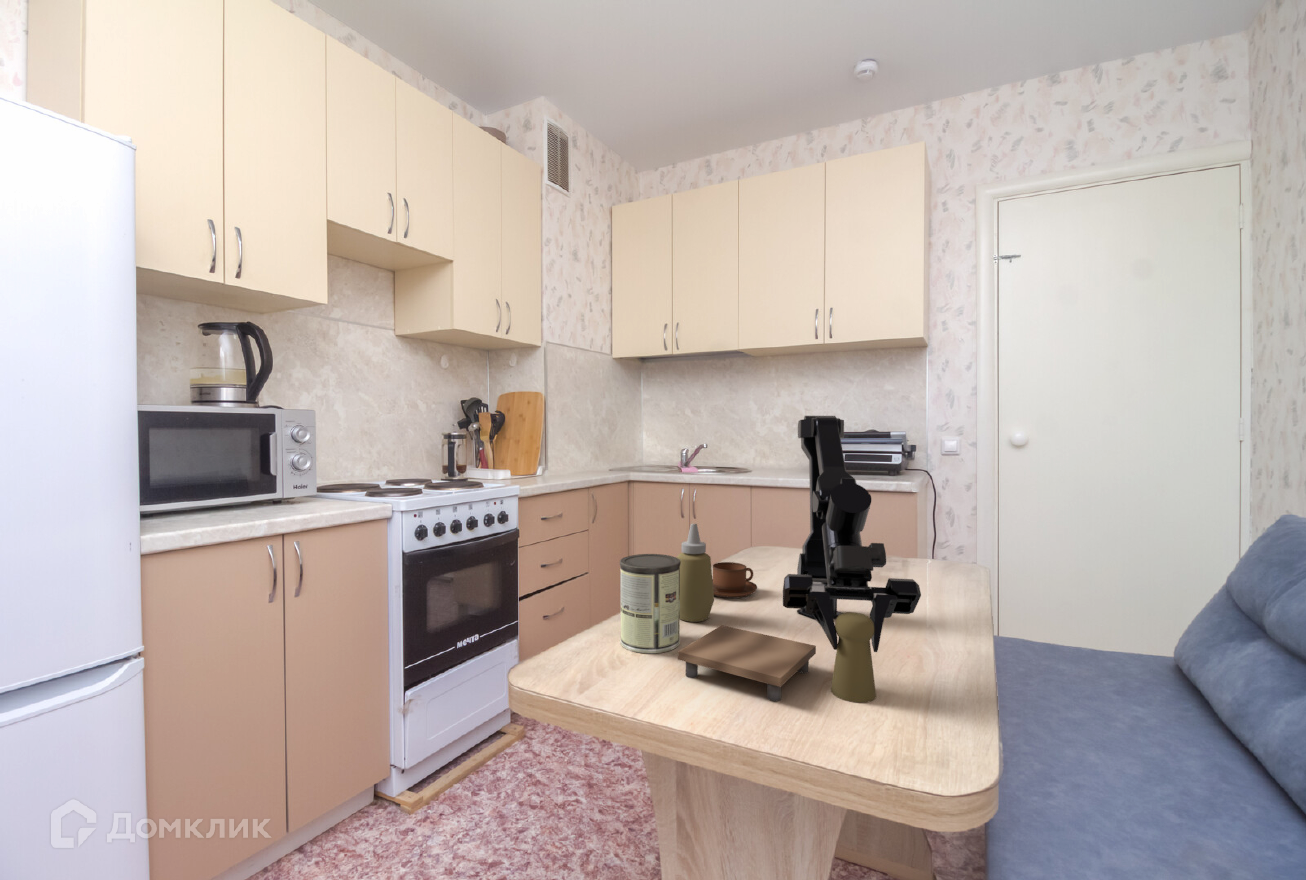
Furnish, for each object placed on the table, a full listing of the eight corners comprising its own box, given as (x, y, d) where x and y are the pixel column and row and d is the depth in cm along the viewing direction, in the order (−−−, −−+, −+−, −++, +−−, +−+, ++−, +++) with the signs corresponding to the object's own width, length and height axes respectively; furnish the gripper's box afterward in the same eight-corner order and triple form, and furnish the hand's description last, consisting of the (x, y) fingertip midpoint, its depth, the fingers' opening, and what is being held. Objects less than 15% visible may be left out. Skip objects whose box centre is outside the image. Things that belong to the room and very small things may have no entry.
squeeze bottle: (669, 611, 119) (670, 520, 119) (710, 610, 120) (711, 520, 119) (674, 625, 111) (675, 528, 111) (717, 624, 112) (718, 528, 111)
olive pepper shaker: (869, 684, 87) (871, 608, 87) (881, 703, 81) (883, 622, 81) (826, 682, 88) (828, 607, 87) (835, 701, 82) (836, 621, 81)
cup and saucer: (724, 583, 141) (725, 557, 141) (767, 594, 132) (768, 566, 132) (690, 593, 132) (690, 565, 132) (734, 605, 124) (734, 576, 124)
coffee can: (632, 628, 109) (632, 551, 109) (687, 635, 106) (687, 556, 106) (609, 649, 100) (610, 564, 99) (669, 657, 96) (670, 570, 96)
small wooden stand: (677, 676, 89) (677, 651, 89) (721, 646, 101) (721, 625, 101) (780, 705, 80) (780, 678, 80) (815, 669, 92) (815, 645, 92)
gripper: (785, 519, 89) (790, 618, 78) (918, 523, 86) (942, 626, 76) (780, 560, 97) (784, 655, 86) (902, 565, 94) (922, 663, 84)
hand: (855, 649), depth 83 cm, fingers closed on olive pepper shaker, 5 cm apart
